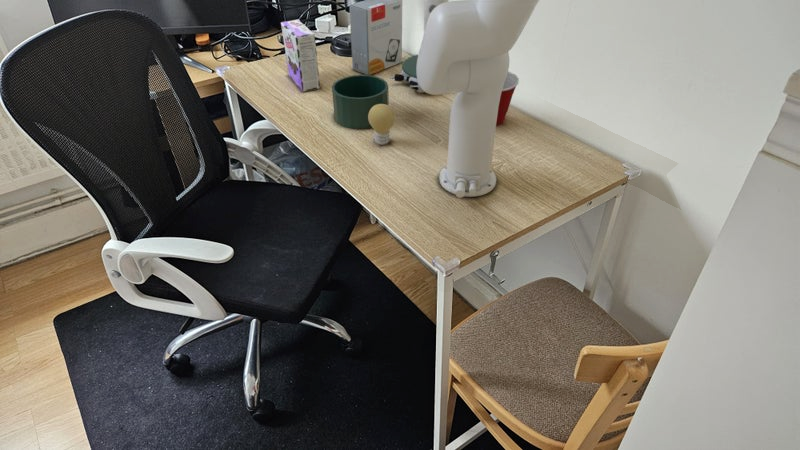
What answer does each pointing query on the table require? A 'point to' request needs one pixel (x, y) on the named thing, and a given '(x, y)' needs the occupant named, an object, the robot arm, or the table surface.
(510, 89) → the plastic cup
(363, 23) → the hard drive box
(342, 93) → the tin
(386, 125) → the light bulb
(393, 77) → the robot toy
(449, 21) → the robot arm
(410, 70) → the green pot lid
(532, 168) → the table surface
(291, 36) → the candy box
